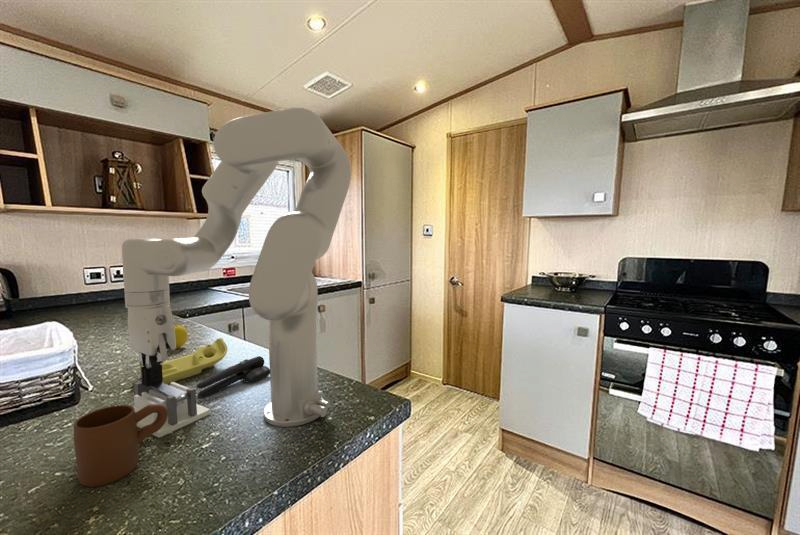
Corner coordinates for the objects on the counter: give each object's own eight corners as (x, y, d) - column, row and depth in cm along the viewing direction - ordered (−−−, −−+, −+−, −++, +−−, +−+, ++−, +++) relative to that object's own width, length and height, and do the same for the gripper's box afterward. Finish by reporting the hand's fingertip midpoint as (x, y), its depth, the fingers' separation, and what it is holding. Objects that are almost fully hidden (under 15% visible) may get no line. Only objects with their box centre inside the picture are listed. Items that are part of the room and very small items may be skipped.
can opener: (259, 371, 97) (258, 351, 97) (273, 377, 93) (273, 357, 92) (190, 394, 83) (189, 372, 83) (203, 403, 79) (202, 379, 78)
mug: (166, 440, 64) (162, 391, 63) (175, 460, 59) (171, 406, 58) (77, 471, 56) (72, 415, 55) (78, 497, 51) (72, 435, 50)
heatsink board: (210, 413, 74) (208, 384, 73) (158, 437, 65) (156, 404, 64) (171, 397, 81) (169, 370, 81) (120, 417, 73) (118, 387, 72)
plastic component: (148, 381, 85) (138, 355, 90) (150, 402, 88) (140, 376, 93) (232, 355, 98) (219, 334, 104) (231, 374, 102) (218, 352, 107)
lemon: (171, 346, 118) (170, 323, 117) (190, 344, 120) (188, 322, 119) (166, 351, 113) (164, 327, 112) (185, 350, 114) (184, 326, 113)
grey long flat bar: (189, 398, 70) (189, 394, 70) (176, 404, 68) (176, 399, 68) (154, 380, 77) (154, 376, 77) (141, 384, 75) (141, 380, 75)
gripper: (187, 299, 72) (190, 385, 74) (149, 292, 79) (153, 370, 81) (146, 305, 65) (151, 399, 67) (109, 297, 73) (114, 382, 74)
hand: (152, 383), depth 74 cm, fingers closed
